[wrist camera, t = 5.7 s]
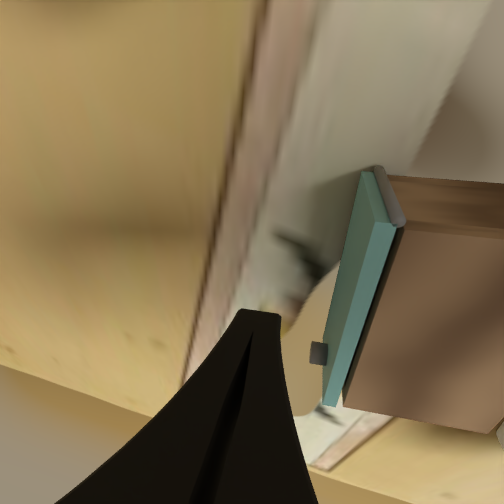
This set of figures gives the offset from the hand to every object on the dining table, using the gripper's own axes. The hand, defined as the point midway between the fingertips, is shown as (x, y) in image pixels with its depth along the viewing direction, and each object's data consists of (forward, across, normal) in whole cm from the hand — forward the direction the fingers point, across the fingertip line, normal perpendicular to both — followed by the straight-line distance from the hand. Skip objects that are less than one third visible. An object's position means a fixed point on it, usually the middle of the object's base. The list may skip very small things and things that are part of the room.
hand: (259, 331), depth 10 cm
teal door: (+9, -4, +4) cm, 10 cm away
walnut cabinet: (+9, -9, +4) cm, 13 cm away
